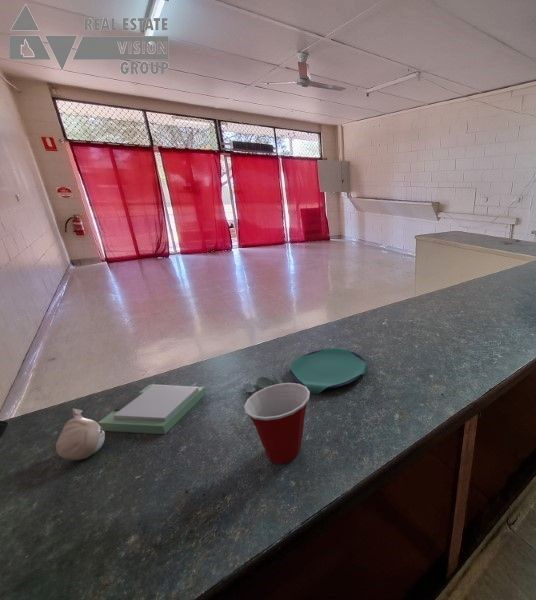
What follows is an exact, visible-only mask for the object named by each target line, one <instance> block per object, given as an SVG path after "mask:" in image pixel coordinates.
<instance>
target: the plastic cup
mask: <svg viewBox="0 0 536 600" xmlns="http://www.w3.org/2000/svg"><path fill="white" fill-rule="evenodd" d="M310 395H311V392H310V391H309V390H308V389H307V387H305V386H303V385H301V384H298V383H297V382H295V383H294V382H283V383H282V384H279V383H276V384H272V385H271V386H269V387H266V388H264V389H260V390H258V391H257V392H256V393H254V394H253V395H252V396H251V395H250V397H248V398H247V400H246V401H245V404H244V406H243V408H244V411H245V413H246V416H248V417H249V418H250V419H251V421H252V422H253V425H254V426H255V430H256V431H257V435H258V437H259V439H260V442H261V444H262V447H263V448H264V451H265V454H266V457H267V459H268V460H269V461H270V462H271V463H272V464H276V465H277V464H278V465H281V464H286V463H289V462H292V461H293V460H294V459H295V458H297V457H298V455H299V454H300V452H301V448H302V441H303V440H302V439H303V435H304V434H303V432H304V425H305V416H306V411H307V405H308V402H309V400H310Z"/></svg>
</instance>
